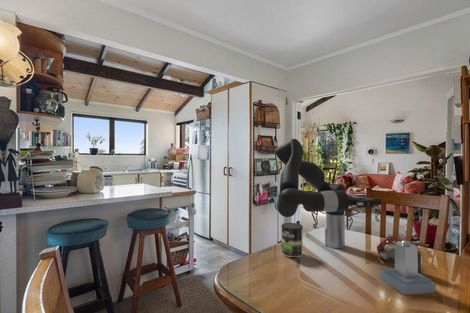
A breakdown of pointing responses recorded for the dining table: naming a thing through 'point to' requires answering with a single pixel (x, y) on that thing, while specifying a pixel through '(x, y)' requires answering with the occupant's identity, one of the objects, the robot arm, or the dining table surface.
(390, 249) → the brake caliper
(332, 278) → the dining table surface
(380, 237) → the dining table surface
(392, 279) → the stand
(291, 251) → the coffee can
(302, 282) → the dining table surface
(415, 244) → the supplement bottle
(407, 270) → the block
